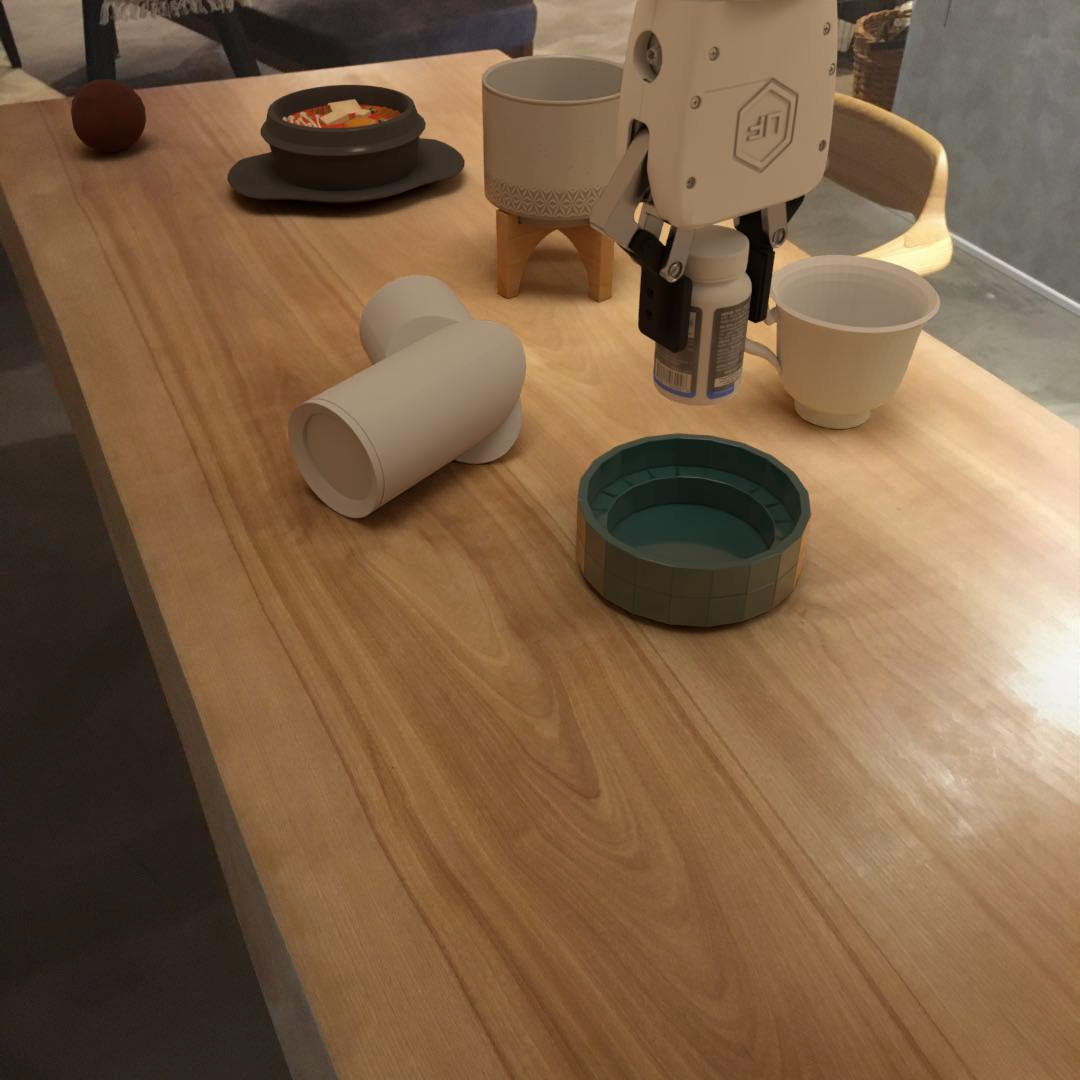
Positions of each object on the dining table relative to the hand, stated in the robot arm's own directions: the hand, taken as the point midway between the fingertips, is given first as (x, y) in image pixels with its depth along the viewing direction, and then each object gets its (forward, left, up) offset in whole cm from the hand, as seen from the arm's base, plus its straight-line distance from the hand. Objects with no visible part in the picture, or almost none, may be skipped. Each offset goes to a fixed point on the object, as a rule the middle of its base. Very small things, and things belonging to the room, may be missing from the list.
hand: (702, 323), depth 62 cm
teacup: (+12, -22, -19) cm, 31 cm away
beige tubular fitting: (+23, +7, -19) cm, 31 cm away
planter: (+42, -17, -19) cm, 49 cm away
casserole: (+72, -9, -19) cm, 75 cm away
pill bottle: (0, 0, -4) cm, 4 cm away
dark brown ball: (+95, +10, -19) cm, 98 cm away
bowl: (+2, -3, -19) cm, 19 cm away
